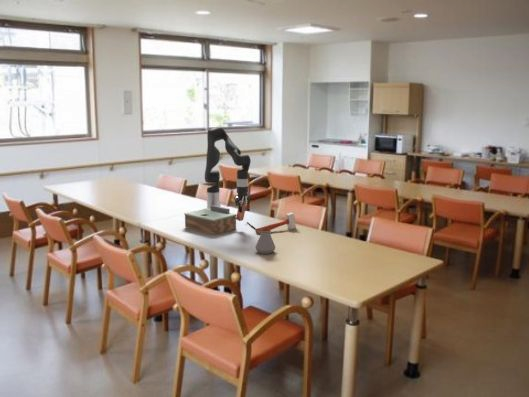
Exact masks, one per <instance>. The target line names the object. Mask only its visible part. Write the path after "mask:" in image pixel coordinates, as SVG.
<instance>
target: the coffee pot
mask: <svg viewBox="0 0 529 397" xmlns="http://www.w3.org/2000/svg"><path fill="white" fill-rule="evenodd" d="M245 226H249V227H250V228H252V229H253V230H254V231H255V232H256V231H257V232H258V233H259V234H258V235H259V237H258V240H257V242H256V245H255V250H256V251H257V252H258V253H259V254H262V255H270V254H272V253H273V252H274V251H275V250H276V244H275V243H274V240H273V238H272V235H271V232H272V230H270V229H261V230H260V232H261V233H260V232H259V231H258V230H257V228H256V227H255V226H254V225H252V224H251V223H249V222H248V221H247V222H246V223H245Z"/></svg>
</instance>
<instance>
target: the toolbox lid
mask: <svg viewBox="0 0 529 397" xmlns="http://www.w3.org/2000/svg"><path fill="white" fill-rule="evenodd" d="M183 215H184V216H185V215H188V216H192V217H196V218H201V219H205V220H210V221H218V220H222V219H226V218H230V217H234V216H237V213H232V212H230V208H227V207H223V206H221V207H218V206H213V205H212V206H211V209H208V208H207V207H206V208H201V209H198V210H193V211H189V212H185V213H184V214H183Z"/></svg>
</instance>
